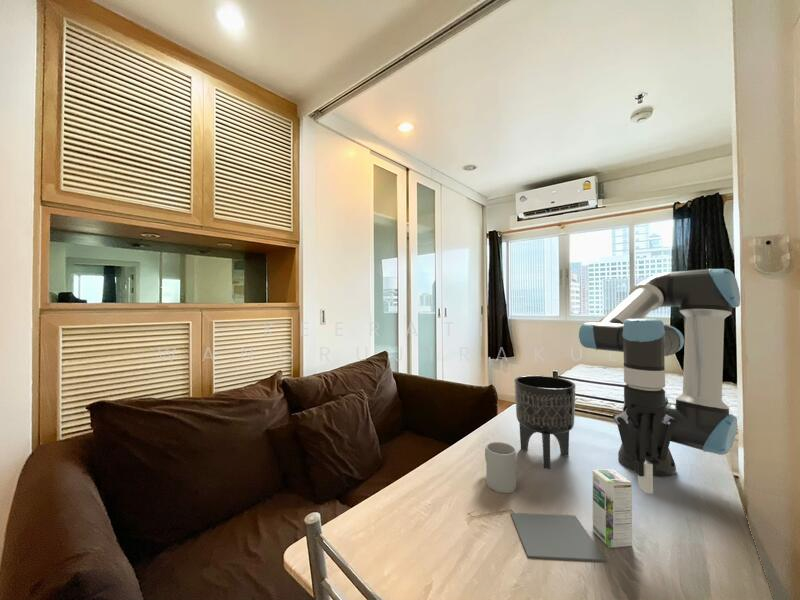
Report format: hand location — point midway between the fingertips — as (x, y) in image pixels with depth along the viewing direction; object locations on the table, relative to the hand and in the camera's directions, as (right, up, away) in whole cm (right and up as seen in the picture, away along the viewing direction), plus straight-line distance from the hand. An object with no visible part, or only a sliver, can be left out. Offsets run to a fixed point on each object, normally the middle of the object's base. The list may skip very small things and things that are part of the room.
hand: (645, 489), depth 73 cm
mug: (-26, -12, +24) cm, 38 cm away
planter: (-5, -12, +40) cm, 42 cm away
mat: (-20, -12, +2) cm, 23 cm away
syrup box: (-7, -12, +1) cm, 14 cm away
